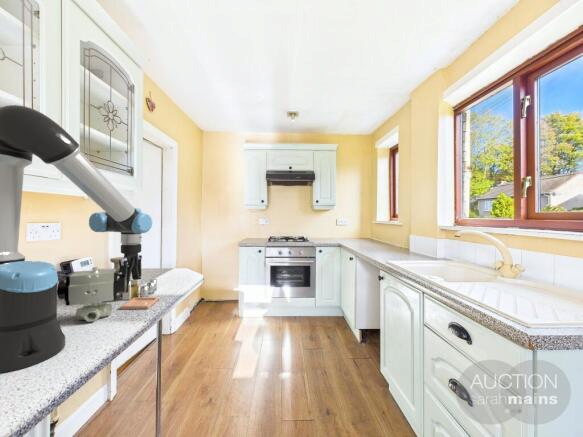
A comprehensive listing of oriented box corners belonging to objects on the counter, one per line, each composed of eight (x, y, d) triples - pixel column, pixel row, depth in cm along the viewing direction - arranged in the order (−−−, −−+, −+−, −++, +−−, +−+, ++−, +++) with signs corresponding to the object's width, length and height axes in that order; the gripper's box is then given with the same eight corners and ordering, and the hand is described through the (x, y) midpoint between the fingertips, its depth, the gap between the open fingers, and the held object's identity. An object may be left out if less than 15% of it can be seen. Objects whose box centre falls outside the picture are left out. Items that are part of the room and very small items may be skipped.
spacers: (144, 300, 104) (144, 288, 104) (106, 300, 103) (106, 288, 103) (159, 289, 119) (160, 279, 119) (127, 289, 118) (127, 279, 118)
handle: (127, 289, 118) (127, 258, 118) (110, 292, 113) (111, 259, 113) (125, 287, 121) (125, 256, 121) (109, 289, 117) (109, 258, 117)
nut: (135, 299, 105) (135, 287, 105) (119, 299, 104) (119, 287, 104) (141, 295, 110) (141, 283, 110) (126, 295, 110) (126, 283, 110)
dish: (147, 309, 95) (147, 306, 95) (120, 309, 94) (120, 306, 94) (159, 300, 105) (159, 297, 105) (134, 300, 104) (134, 297, 104)
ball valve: (54, 329, 78) (55, 272, 77) (64, 318, 85) (64, 267, 85) (123, 318, 86) (124, 268, 86) (126, 310, 94) (127, 263, 93)
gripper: (128, 246, 98) (127, 304, 98) (150, 241, 116) (150, 290, 117) (108, 246, 97) (107, 304, 98) (133, 241, 116) (133, 290, 116)
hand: (130, 296), depth 107 cm, fingers closed on nut, 5 cm apart
